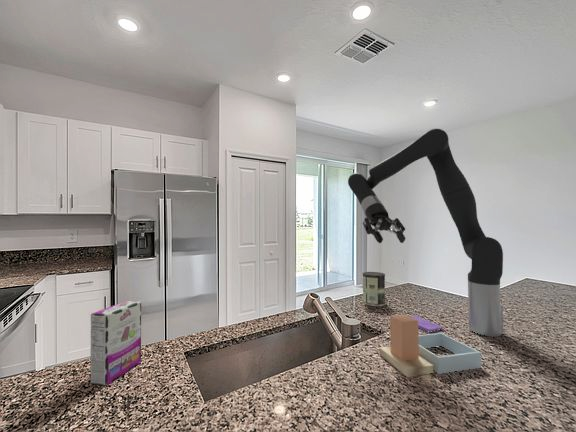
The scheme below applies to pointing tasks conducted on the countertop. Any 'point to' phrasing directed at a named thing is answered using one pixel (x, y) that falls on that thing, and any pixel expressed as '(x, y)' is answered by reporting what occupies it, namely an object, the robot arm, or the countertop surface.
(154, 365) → the countertop surface
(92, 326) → the candy bar box
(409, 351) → the terracotta box
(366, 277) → the coffee can
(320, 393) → the countertop surface
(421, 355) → the square frame
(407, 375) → the block
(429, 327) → the sponges
